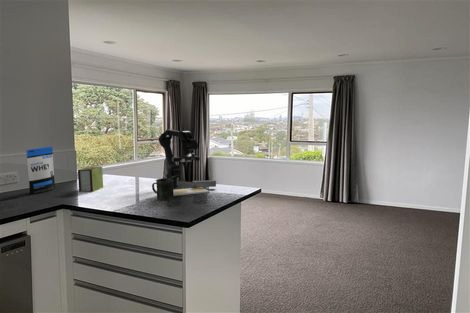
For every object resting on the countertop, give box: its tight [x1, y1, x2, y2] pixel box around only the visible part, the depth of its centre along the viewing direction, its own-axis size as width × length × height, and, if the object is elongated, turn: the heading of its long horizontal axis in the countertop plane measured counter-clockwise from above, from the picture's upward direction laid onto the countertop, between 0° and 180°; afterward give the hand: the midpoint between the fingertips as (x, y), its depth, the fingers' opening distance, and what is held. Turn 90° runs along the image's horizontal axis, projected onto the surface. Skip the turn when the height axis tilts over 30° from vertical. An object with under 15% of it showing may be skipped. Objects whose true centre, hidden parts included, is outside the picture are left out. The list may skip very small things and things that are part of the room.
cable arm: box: [191, 179, 217, 188], centre depth 248 cm, size 17×4×4 cm, turn 99°
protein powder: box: [26, 146, 56, 196], centre depth 242 cm, size 10×24×30 cm, turn 170°
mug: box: [151, 177, 175, 201], centre depth 220 cm, size 11×15×12 cm
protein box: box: [77, 165, 104, 193], centre depth 248 cm, size 10×15×16 cm
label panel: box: [173, 187, 210, 197], centre depth 239 cm, size 15×24×2 cm, turn 113°
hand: (186, 170), depth 247 cm, fingers closed
